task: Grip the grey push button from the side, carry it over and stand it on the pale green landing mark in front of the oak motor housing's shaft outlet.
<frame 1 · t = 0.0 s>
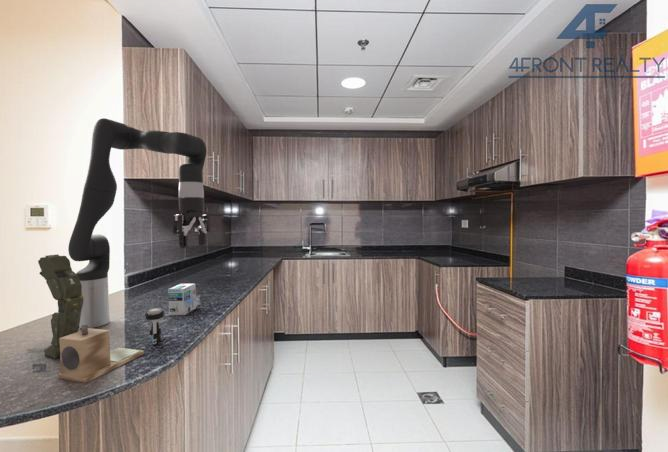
hand: (193, 246, 103), 29 cm above the counter, tool pointing down, fingers open, 8 cm apart
mechanical leg: (65, 354, 91), on the counter
housing: (104, 365, 83), on the counter
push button: (155, 342, 98), on the counter
light bulb box: (183, 312, 131), on the counter
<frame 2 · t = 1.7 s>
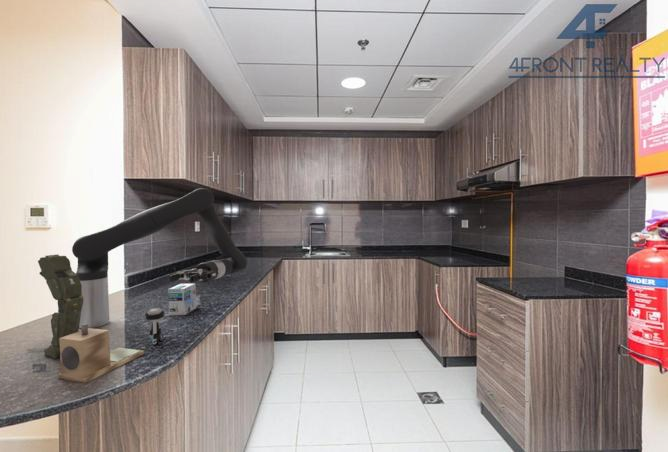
hand: (180, 279, 109), 18 cm above the counter, tool horizontal, fingers open, 8 cm apart
nothing on the counter moved.
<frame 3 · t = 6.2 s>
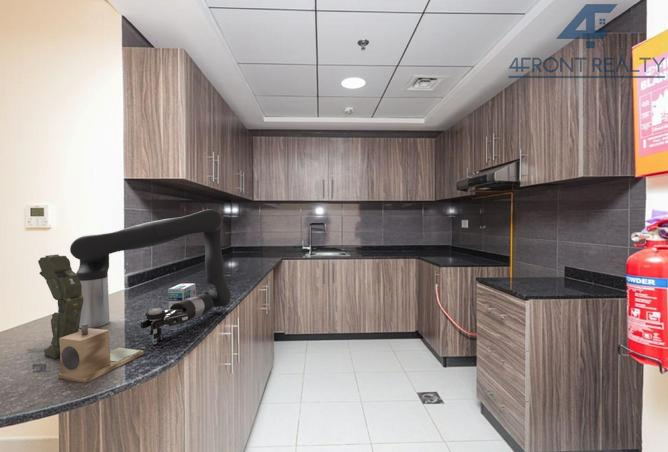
hand: (146, 325, 96), 6 cm above the counter, tool horizontal, fingers closed on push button, 3 cm apart
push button: (155, 342, 98), on the counter, touching gripper
everything else where it was.
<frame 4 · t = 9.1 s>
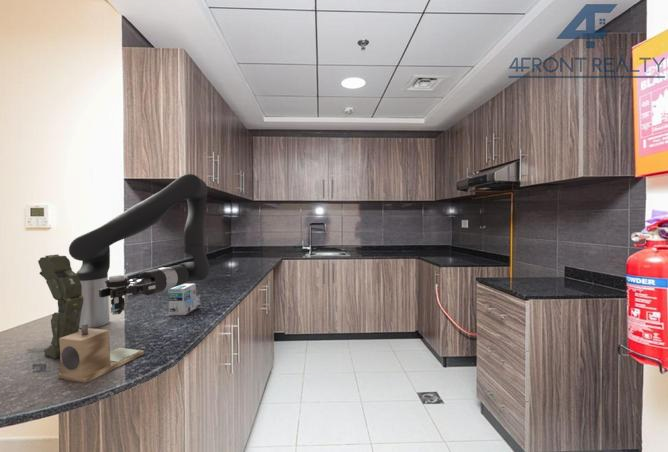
hand: (105, 294, 84), 19 cm above the counter, tool horizontal, fingers closed on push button, 3 cm apart
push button: (117, 313, 87), point 13 cm above the counter, touching gripper
everything else where it was.
when the fingers open (7 cm above the counter, at t = 12.0 s): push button moves 2 cm, resting on housing.
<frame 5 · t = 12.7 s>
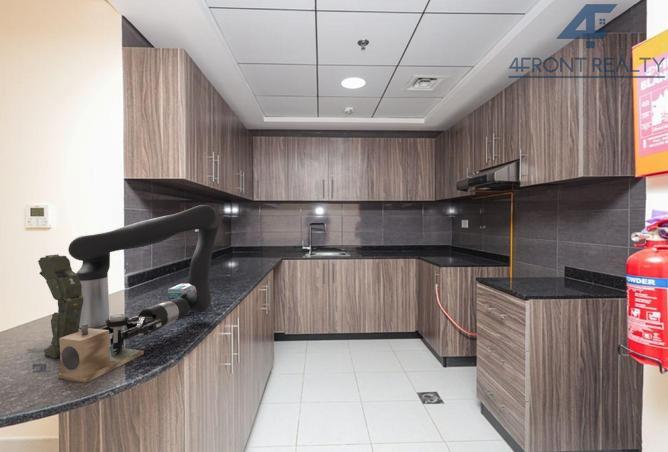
hand: (111, 334, 85), 7 cm above the counter, tool horizontal, fingers open, 8 cm apart
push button: (115, 353, 88), point 1 cm above the counter, touching gripper, housing
everything else where it was.
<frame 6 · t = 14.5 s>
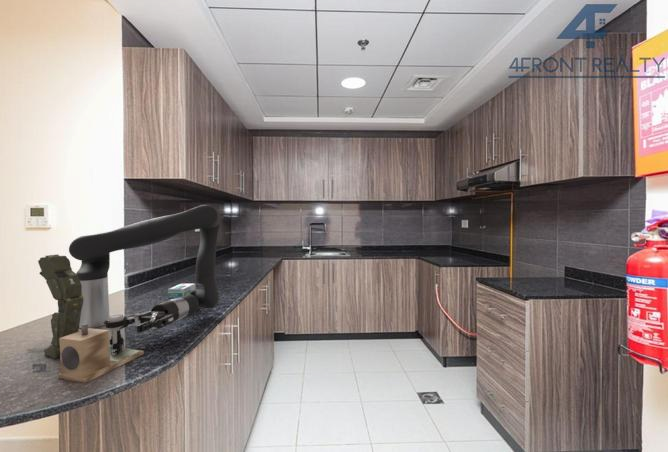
hand: (126, 328, 90), 8 cm above the counter, tool horizontal, fingers open, 8 cm apart
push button: (116, 353, 88), point 1 cm above the counter, touching housing
everything else where it was.
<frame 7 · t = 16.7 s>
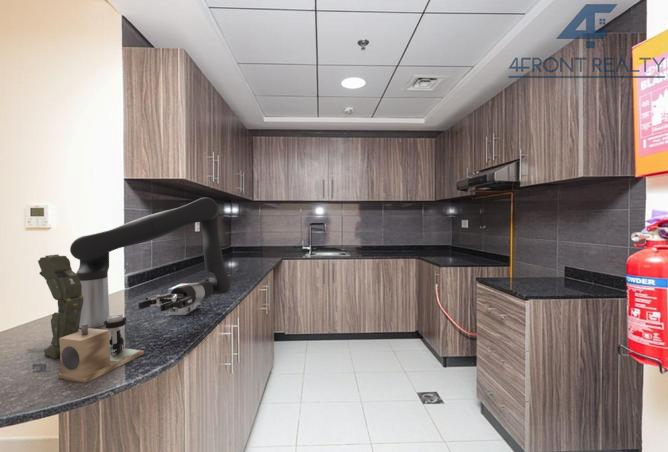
hand: (150, 306, 98), 11 cm above the counter, tool horizontal, fingers open, 8 cm apart
nothing on the counter moved.
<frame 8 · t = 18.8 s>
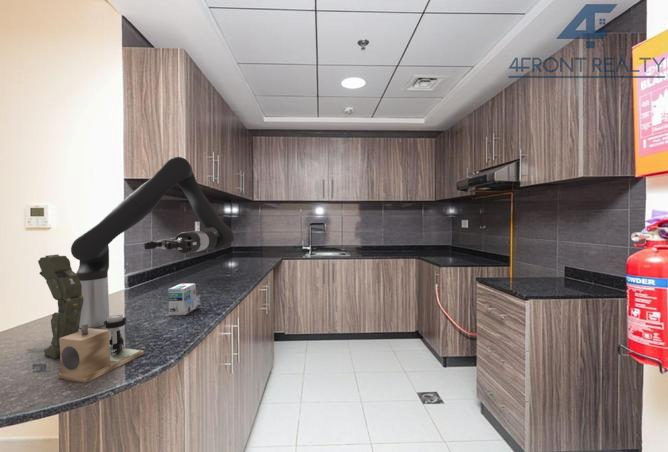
hand: (156, 246, 98), 30 cm above the counter, tool horizontal, fingers open, 8 cm apart
nothing on the counter moved.
at the end: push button inside the target area on the housing (1.7 cm from its centre), point 1.0 cm above the housing's base; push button tilted 0°; the gripper is holding nothing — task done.
